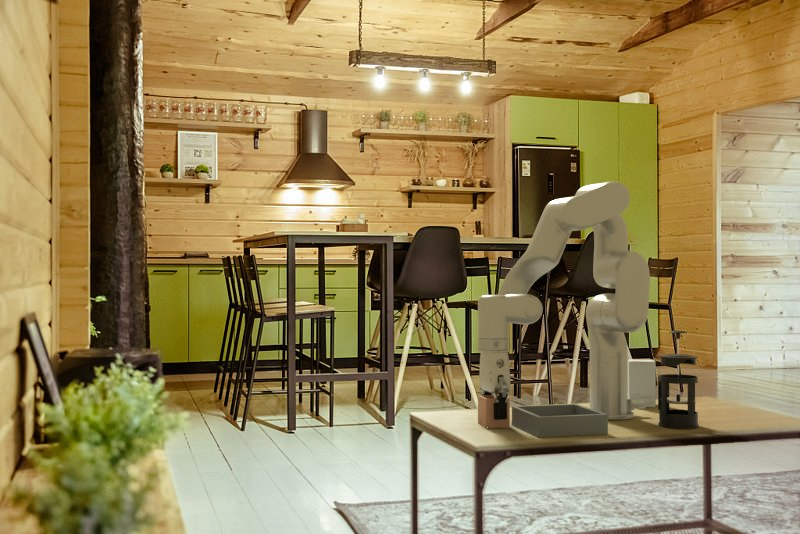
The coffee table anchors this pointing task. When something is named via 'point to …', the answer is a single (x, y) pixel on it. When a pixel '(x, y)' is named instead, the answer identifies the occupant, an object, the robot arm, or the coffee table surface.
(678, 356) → the french press
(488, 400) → the small crate
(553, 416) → the grey square tray
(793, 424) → the coffee table surface
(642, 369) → the supplement box
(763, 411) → the coffee table surface
